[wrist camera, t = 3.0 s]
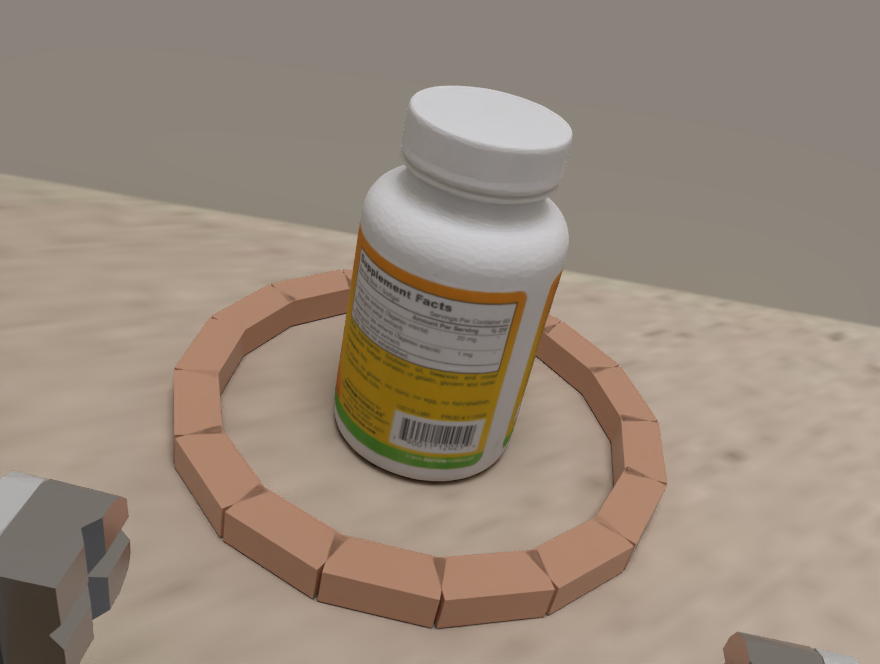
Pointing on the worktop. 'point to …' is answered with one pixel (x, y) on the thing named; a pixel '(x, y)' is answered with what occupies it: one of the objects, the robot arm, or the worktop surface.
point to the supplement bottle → (453, 283)
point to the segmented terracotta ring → (386, 567)
